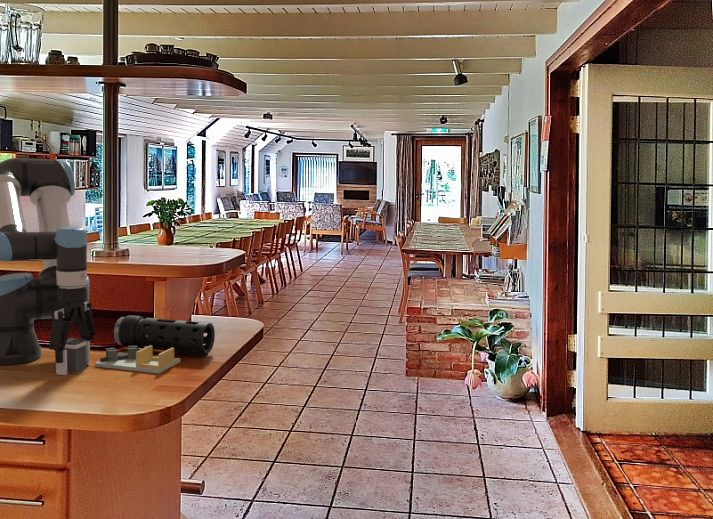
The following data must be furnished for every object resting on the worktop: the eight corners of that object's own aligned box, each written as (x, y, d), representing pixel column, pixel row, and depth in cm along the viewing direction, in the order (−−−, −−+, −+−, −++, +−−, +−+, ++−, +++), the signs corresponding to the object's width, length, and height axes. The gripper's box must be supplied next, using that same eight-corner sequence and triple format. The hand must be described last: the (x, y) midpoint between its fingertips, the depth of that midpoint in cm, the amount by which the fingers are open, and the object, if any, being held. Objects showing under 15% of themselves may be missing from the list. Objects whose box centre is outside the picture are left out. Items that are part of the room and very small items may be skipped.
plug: (60, 371, 186) (59, 341, 184) (71, 366, 190) (70, 337, 189) (75, 373, 184) (75, 343, 183) (86, 368, 189) (85, 339, 188)
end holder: (135, 366, 189) (135, 352, 188) (150, 359, 196) (150, 345, 195) (160, 369, 187) (160, 354, 186) (174, 361, 194) (174, 347, 194)
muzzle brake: (202, 361, 200) (202, 325, 199) (112, 352, 205) (112, 318, 204) (215, 352, 209) (215, 318, 208) (129, 345, 215) (129, 311, 213)
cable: (100, 361, 192) (99, 358, 192) (100, 358, 195) (100, 355, 195) (148, 359, 195) (148, 356, 195) (148, 356, 199) (148, 353, 198)
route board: (94, 366, 191) (94, 352, 190) (119, 355, 202) (119, 341, 202) (158, 373, 186) (158, 358, 186) (180, 361, 198) (180, 348, 198)
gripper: (57, 294, 173) (59, 382, 176) (108, 280, 194) (109, 359, 197) (31, 291, 175) (33, 379, 177) (84, 279, 196) (86, 357, 199)
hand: (73, 369), depth 187 cm, fingers open, 9 cm apart
